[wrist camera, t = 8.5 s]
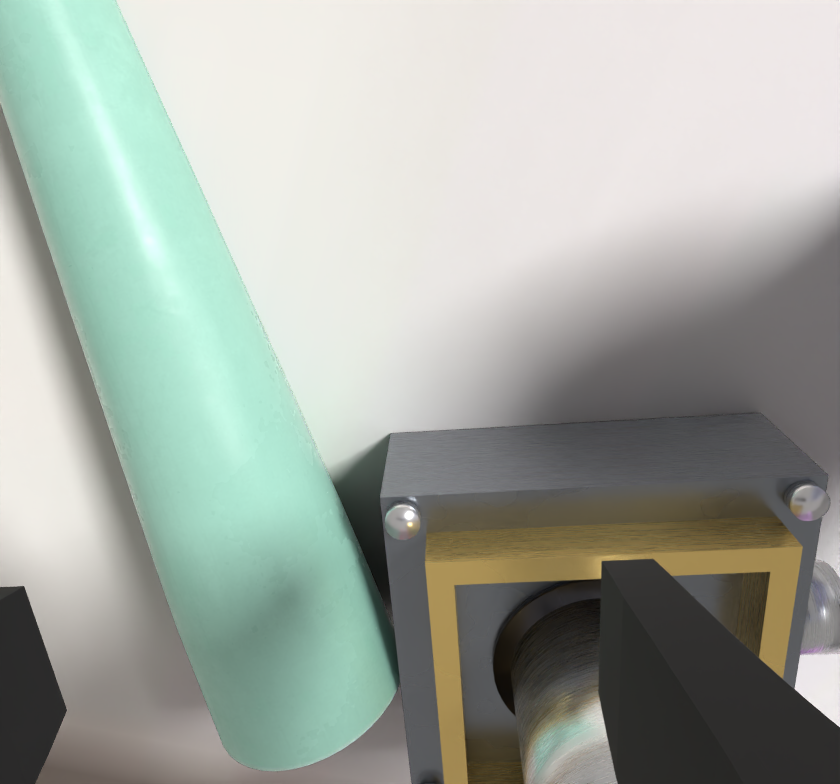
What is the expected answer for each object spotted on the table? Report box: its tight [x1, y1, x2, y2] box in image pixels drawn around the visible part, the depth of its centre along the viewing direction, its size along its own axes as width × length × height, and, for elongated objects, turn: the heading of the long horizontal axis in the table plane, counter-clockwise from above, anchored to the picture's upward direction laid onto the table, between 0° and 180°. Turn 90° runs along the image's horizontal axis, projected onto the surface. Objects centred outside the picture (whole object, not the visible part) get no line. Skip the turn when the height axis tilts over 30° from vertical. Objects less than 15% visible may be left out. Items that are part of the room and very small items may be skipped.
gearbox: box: [380, 413, 840, 784], centre depth 18 cm, size 12×10×5 cm
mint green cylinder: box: [0, 0, 400, 771], centre depth 15 cm, size 5×6×27 cm
